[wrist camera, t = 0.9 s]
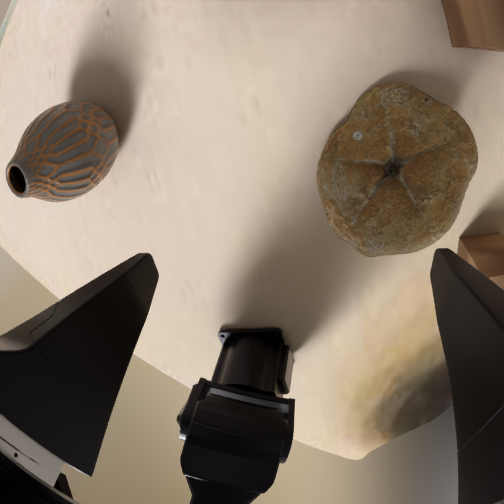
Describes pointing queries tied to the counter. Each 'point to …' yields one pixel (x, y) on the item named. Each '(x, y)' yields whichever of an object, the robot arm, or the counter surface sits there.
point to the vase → (63, 153)
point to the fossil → (396, 171)
